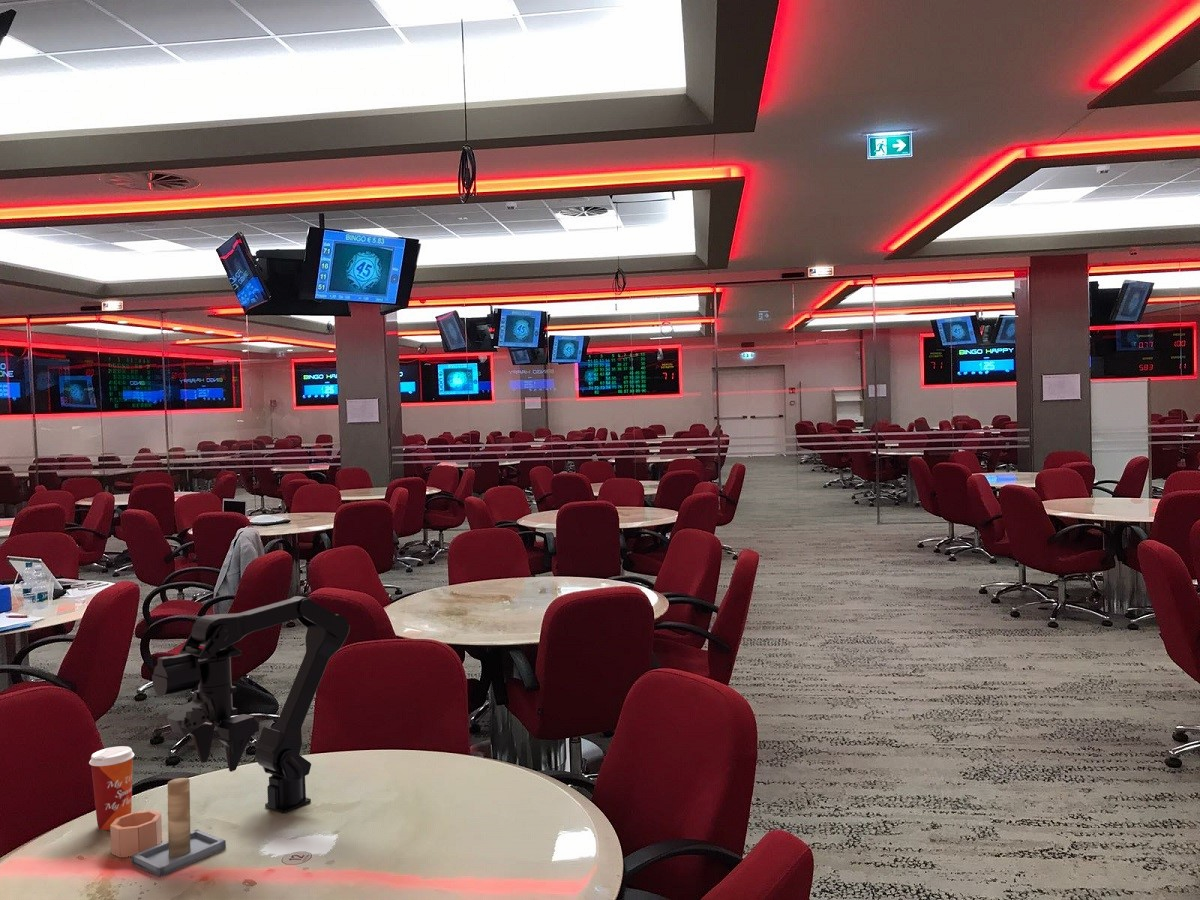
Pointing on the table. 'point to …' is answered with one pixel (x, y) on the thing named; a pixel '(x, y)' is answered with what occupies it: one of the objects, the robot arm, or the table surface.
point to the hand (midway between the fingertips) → (218, 766)
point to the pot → (135, 833)
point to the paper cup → (112, 783)
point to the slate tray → (162, 863)
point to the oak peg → (179, 817)
